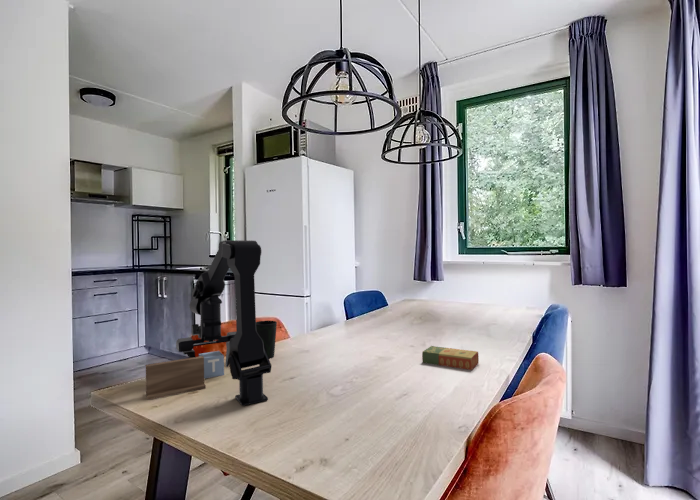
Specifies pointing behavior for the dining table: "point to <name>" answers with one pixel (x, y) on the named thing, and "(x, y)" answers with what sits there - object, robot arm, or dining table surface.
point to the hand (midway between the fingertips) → (211, 369)
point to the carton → (450, 357)
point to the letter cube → (213, 364)
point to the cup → (267, 335)
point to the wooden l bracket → (174, 377)
